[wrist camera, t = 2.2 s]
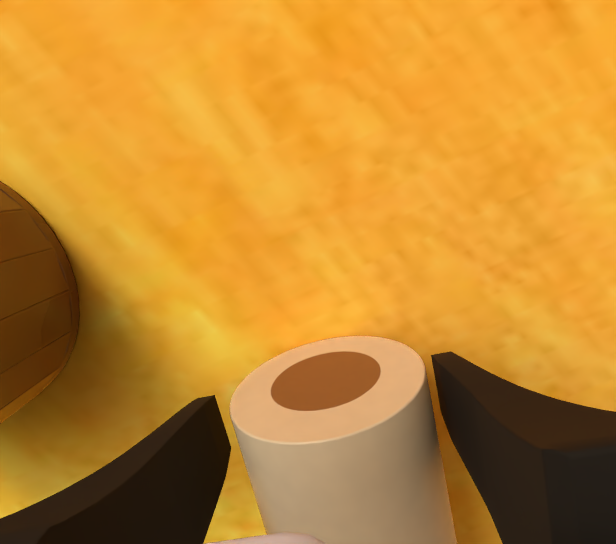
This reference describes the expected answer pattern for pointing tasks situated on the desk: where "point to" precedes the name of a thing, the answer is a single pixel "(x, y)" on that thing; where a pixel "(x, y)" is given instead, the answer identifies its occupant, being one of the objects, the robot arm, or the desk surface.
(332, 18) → the desk surface
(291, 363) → the paper roll
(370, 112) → the desk surface
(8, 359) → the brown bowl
